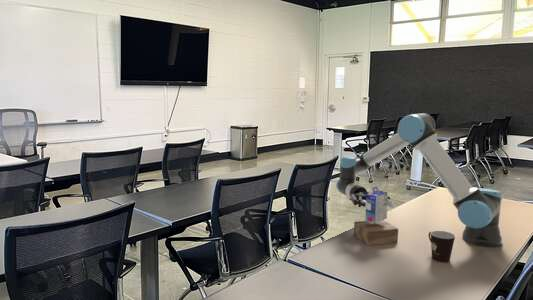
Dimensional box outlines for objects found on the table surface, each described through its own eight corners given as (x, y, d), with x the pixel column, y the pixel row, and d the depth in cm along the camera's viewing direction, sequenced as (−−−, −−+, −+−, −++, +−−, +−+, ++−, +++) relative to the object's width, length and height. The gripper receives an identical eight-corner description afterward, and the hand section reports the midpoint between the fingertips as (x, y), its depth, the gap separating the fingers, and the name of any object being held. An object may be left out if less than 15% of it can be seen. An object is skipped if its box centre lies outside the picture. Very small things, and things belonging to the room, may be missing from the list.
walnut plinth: (397, 242, 171) (398, 228, 170) (368, 245, 168) (369, 231, 167) (380, 231, 184) (381, 219, 183) (353, 234, 180) (354, 221, 179)
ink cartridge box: (376, 215, 180) (377, 184, 177) (387, 218, 176) (389, 187, 173) (364, 220, 173) (365, 188, 171) (375, 224, 169) (377, 191, 167)
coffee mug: (455, 264, 150) (457, 239, 148) (431, 262, 151) (433, 237, 150) (447, 252, 161) (449, 228, 159) (425, 250, 163) (427, 227, 161)
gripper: (377, 198, 194) (404, 212, 173) (334, 201, 188) (357, 216, 167) (378, 183, 193) (405, 195, 172) (334, 186, 186) (358, 199, 165)
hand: (381, 206), depth 169 cm, fingers closed on ink cartridge box, 11 cm apart
